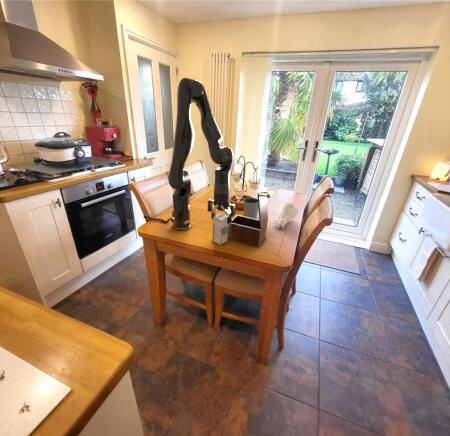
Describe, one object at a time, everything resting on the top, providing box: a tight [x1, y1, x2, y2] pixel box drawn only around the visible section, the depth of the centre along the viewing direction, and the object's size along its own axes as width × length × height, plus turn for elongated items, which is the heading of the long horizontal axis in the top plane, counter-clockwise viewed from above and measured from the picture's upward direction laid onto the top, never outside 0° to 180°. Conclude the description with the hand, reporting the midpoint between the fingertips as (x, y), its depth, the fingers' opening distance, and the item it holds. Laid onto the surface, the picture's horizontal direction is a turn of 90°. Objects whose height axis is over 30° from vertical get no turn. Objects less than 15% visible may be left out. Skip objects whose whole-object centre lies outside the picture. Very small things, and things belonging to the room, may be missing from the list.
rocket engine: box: [275, 202, 299, 230], centre depth 143 cm, size 12×12×18 cm
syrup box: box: [212, 213, 229, 246], centre depth 120 cm, size 6×6×14 cm
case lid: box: [257, 186, 275, 230], centre depth 115 cm, size 18×12×5 cm
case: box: [228, 214, 268, 248], centre depth 125 cm, size 18×12×10 cm, turn 64°
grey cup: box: [242, 197, 259, 219], centre depth 149 cm, size 10×10×12 cm
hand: (221, 221), depth 118 cm, fingers open, 8 cm apart
